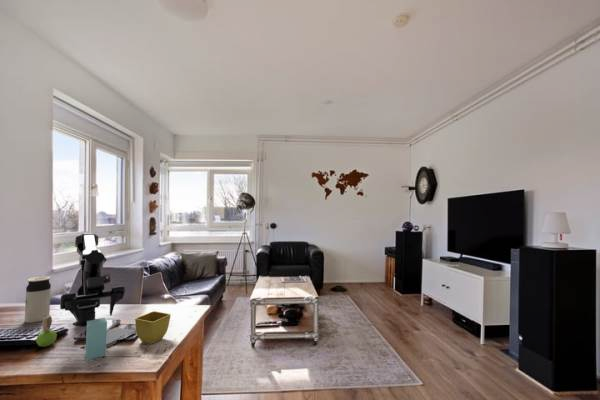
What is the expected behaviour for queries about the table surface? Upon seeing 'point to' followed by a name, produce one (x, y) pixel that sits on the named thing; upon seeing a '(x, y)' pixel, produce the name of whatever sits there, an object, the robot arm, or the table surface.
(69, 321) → the table surface
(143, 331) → the flower pot
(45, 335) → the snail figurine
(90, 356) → the block
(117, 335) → the coaster
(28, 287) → the travel mug
